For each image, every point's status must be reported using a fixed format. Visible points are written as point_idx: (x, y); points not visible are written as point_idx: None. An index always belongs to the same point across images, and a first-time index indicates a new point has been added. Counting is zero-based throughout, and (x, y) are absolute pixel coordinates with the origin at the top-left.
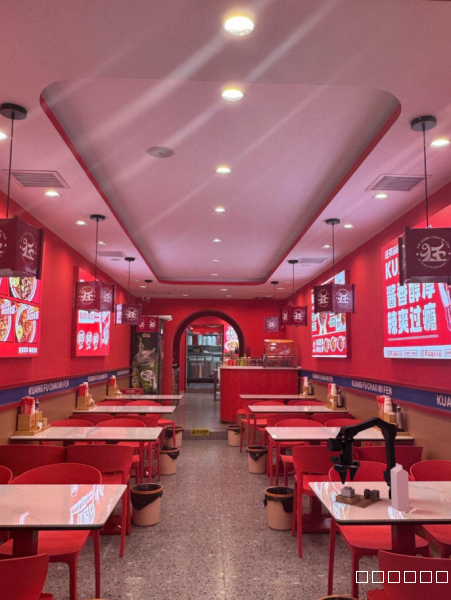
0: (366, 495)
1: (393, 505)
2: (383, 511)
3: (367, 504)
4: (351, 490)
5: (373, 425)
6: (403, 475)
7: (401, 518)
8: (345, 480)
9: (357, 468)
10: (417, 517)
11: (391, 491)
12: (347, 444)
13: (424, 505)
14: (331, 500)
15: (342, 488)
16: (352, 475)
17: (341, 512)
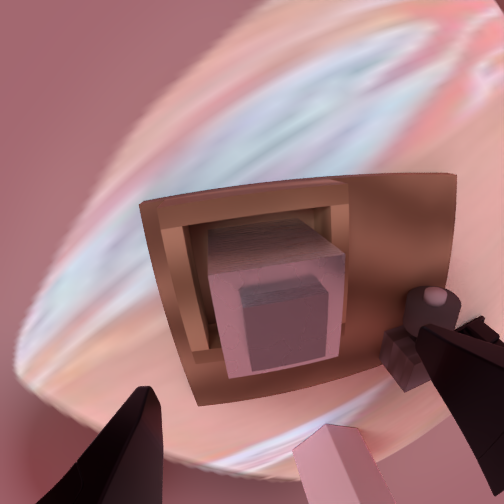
0: (404, 321)
1: (320, 450)
2: (273, 427)
3: (287, 378)
4: (260, 370)
5: None
6: None
7: (243, 471)
8: (160, 468)
9: (498, 488)
10: (295, 473)
11: (349, 487)
12: None
13: (435, 407)
14: (218, 112)
15: (233, 280)
16: (464, 398)
17: (60, 342)
